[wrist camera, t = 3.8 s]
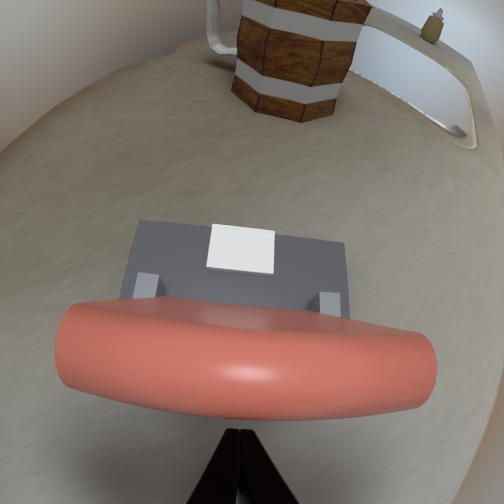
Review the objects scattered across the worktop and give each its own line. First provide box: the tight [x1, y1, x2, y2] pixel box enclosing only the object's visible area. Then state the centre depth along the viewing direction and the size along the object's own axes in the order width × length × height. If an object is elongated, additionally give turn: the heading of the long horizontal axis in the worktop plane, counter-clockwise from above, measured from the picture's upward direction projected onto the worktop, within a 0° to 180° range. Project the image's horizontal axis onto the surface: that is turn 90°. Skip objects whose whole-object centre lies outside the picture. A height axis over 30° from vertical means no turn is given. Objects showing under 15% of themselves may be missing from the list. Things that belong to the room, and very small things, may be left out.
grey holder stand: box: [119, 220, 350, 319], centre depth 17 cm, size 9×14×4 cm, turn 86°
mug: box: [207, 0, 372, 123], centre depth 26 cm, size 20×14×15 cm
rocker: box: [55, 296, 437, 421], centre depth 10 cm, size 2×8×11 cm, turn 85°
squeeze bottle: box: [421, 8, 444, 44], centre depth 67 cm, size 8×8×18 cm
